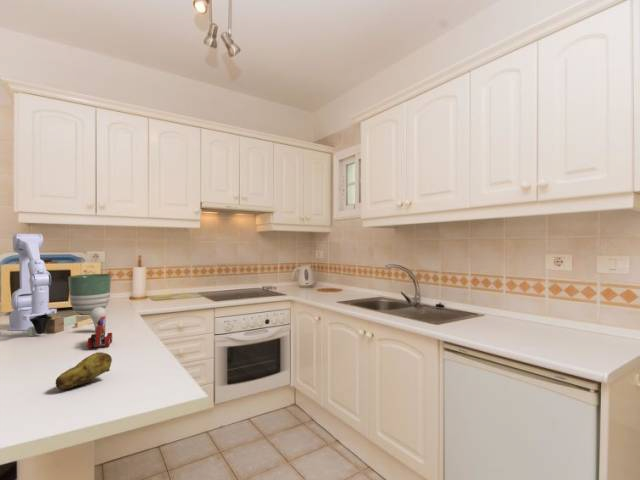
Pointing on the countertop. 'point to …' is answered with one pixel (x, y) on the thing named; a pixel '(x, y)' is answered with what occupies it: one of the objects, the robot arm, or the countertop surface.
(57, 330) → the cabinet block
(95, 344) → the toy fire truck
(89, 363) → the potato
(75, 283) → the planter
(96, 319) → the lightbulb
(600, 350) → the countertop surface
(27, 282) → the robot arm
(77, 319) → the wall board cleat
